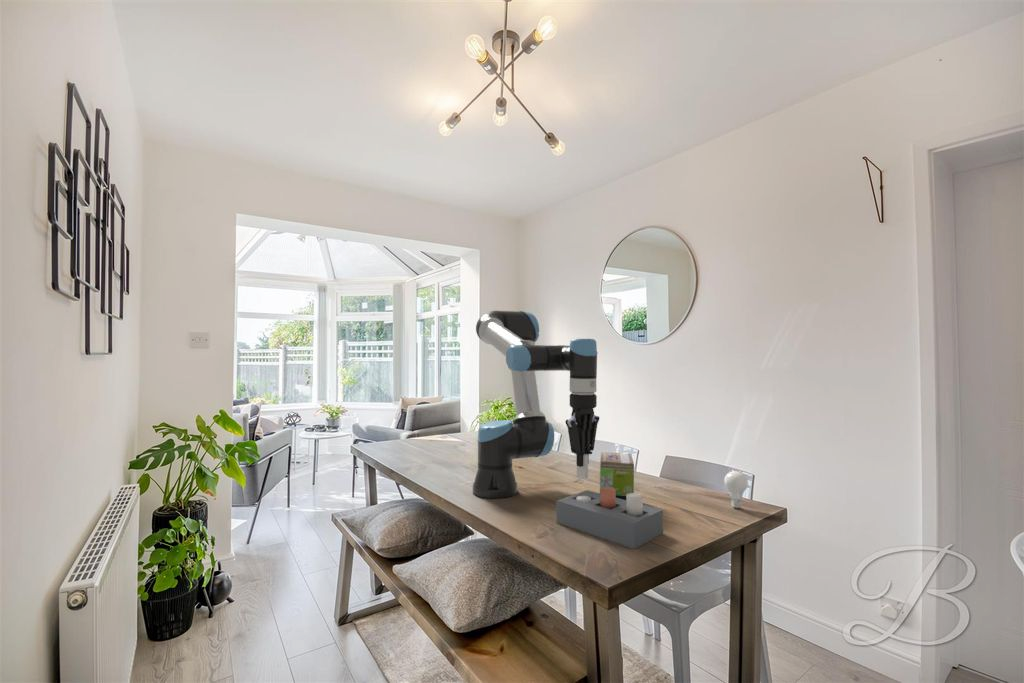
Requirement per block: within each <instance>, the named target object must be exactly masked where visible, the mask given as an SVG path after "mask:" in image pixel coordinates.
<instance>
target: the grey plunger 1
mask: <svg viewBox="0 0 1024 683" xmlns="http://www.w3.org/2000/svg"><path fill="white" fill-rule="evenodd" d="M576 500H579V501H583V502H588V501H590V500H591V498H590V497H588V496H577V497H576Z"/></svg>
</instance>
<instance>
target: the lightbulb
mask: <svg viewBox="0 0 1024 683" xmlns="http://www.w3.org/2000/svg"><path fill="white" fill-rule="evenodd" d="M724 485H725V487H726V489H727V491H728V492H729V497H730V499H731V500H730V502H731V507H732V508H734V509H735V510H736V509H740V508H742V498H743V495H744V493H745V491H746V490H747V488H748V485H749V481H748V478H747V477H746V475H745V474H744V473H742V472H741V471H737V470H732V471H731V470H730V471H729V472H727V474H725V476H724Z"/></svg>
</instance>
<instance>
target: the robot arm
mask: <svg viewBox="0 0 1024 683" xmlns="http://www.w3.org/2000/svg"><path fill="white" fill-rule="evenodd" d="M475 325H476V326H475V332H476V335H477V337H478V338H479V340H481V341H482V342H483V343H485V344H487V345H491V346H493V347H494V348H495V349H496V350H498V352H500V353H501V354H502V355H503V356H505V363H506V365H507V368H508V369H509V370H510V372H511V378H512V380H511V381H512V388H513V389H512V390H513V397H514V405H515V412H516V414H515V415H516V416H515V417H514V418H513V420H512V421H511V420H508V419H505V420H504V419H501V420H493V421H488V422H486V423H485V422H484V423H483V424H482V425H480V426H479V428H478V433H477V471H476V474H475V478H474V481H473V484H472V494H473V495H474V496H477V497H480V498H486V499H502V498H508V497H512V496H515V495H517V493H518V483H517V482H516V477H515V473H514V470H513V460H515V459H527V458H538V457H545V456H547V455H548V454H550V453H551V451H552V450H553V447H554V442H555V430H554V427H553V425H552V423H551V422H548V421H547V420H546V416H545V414H543V413H542V411H541V407H540V399H539V394H538V393H539V392H538V384H537V378H536V372H538V371H539V372H540V371H541V372H543V371H544V372H547V371H552V372H556V371H557V372H558V371H562V372H563V371H566V372H567V371H568V372H569V389H568V390H569V393H570V394H569V406H570V408H572V410H571V415H570V416H571V417H570V418H569V419H565V425H566V427H567V432H568V439H569V446H570V452H571V453H573V454H575V456H576V467H577V468H576V477H577V478H580V479H584V480H586V479H588V478H589V464H590V463H589V460H590V458H589V456H590V455H592V454H593V451H594V450H595V443H596V435H597V429H598V424H599V422H600V416H598V415H595V411H594V409H595V408H596V407H597V404H598V403H597V400H598V399H597V398H598V396H597V395H596V392H597V379H598V377H597V376H598V375H597V374H598V373H597V372H598V371H597V368H598V349H597V348H598V347H597V340H595V339H594V338H572V339H571V340H570V343H569V345H561V344H559V345H546V344H545V345H543V344H542V345H537V344H536V342H537V341H538V339H539V336H540V324H539V321H538V319H537V318H536V316H535V315H534V314H533V313H532V312H529V311H522V310H518V311H514V310H513V311H512V310H490V311H487V312H486V313H484V314H483V315H481V316H480V317H479V318H478V320H477V321H476V324H475Z"/></svg>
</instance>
